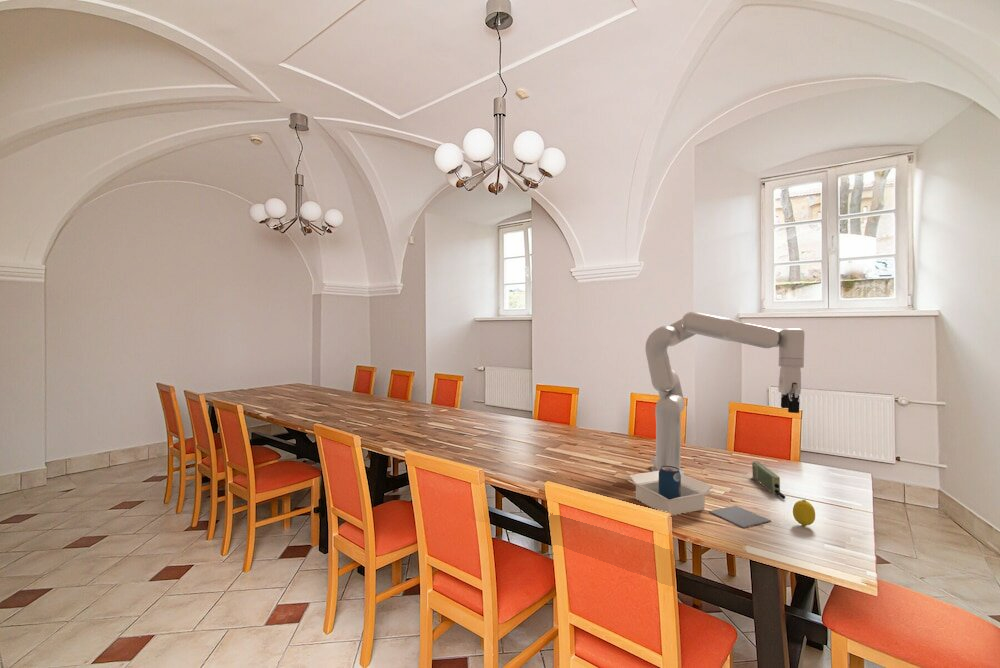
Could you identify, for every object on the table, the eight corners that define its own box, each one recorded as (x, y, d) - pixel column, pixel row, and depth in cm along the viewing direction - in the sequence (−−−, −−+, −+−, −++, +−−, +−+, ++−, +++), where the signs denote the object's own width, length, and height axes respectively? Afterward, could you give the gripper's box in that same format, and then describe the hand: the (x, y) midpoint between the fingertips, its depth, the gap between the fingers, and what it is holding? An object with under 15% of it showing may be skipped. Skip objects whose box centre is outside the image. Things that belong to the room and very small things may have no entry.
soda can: (684, 507, 143) (685, 471, 143) (665, 508, 142) (665, 472, 142) (672, 499, 150) (673, 464, 150) (654, 500, 149) (654, 465, 149)
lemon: (788, 522, 133) (788, 496, 132) (805, 522, 133) (805, 496, 133) (802, 531, 127) (802, 503, 127) (819, 530, 128) (820, 503, 127)
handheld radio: (760, 477, 175) (789, 501, 150) (751, 477, 175) (778, 500, 151) (760, 460, 175) (788, 481, 150) (751, 460, 175) (778, 481, 151)
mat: (709, 512, 139) (709, 511, 139) (735, 506, 144) (735, 505, 144) (743, 528, 128) (743, 526, 128) (770, 521, 133) (770, 520, 133)
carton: (620, 496, 152) (620, 476, 152) (669, 488, 160) (669, 468, 160) (668, 523, 131) (669, 499, 131) (721, 511, 140) (722, 489, 140)
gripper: (773, 360, 166) (771, 405, 166) (785, 364, 150) (783, 413, 150) (796, 361, 163) (795, 407, 164) (811, 365, 147) (809, 415, 147)
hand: (789, 410), depth 157 cm, fingers open, 9 cm apart
